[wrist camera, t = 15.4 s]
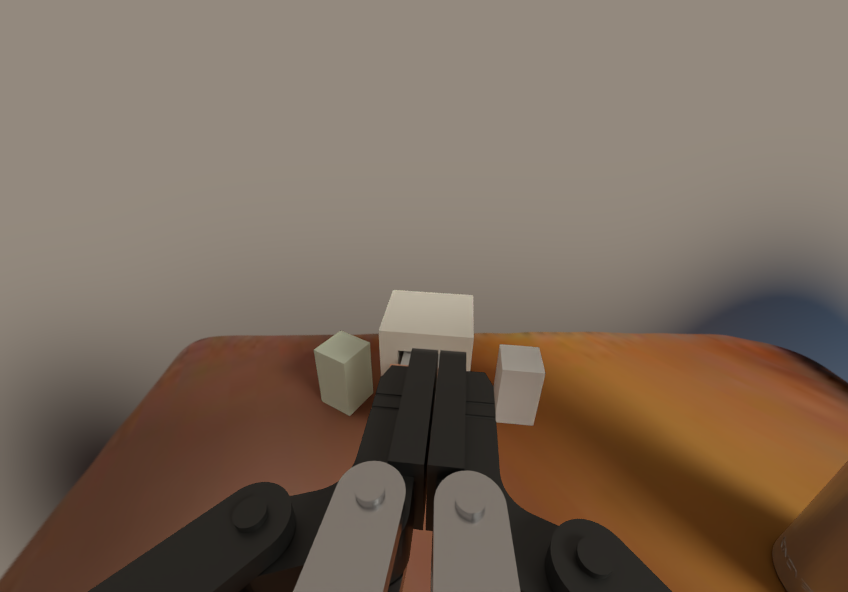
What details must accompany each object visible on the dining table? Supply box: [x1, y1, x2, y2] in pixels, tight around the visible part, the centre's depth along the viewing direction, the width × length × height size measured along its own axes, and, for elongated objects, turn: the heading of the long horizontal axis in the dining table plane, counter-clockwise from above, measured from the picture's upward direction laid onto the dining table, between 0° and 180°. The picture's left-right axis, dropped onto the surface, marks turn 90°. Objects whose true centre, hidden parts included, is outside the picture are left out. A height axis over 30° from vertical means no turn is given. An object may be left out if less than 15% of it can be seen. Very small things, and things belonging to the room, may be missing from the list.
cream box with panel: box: [379, 290, 474, 376], centre depth 43 cm, size 8×9×14 cm
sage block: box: [314, 331, 373, 416], centre depth 46 cm, size 4×4×8 cm
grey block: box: [494, 344, 545, 426], centre depth 44 cm, size 4×4×8 cm
